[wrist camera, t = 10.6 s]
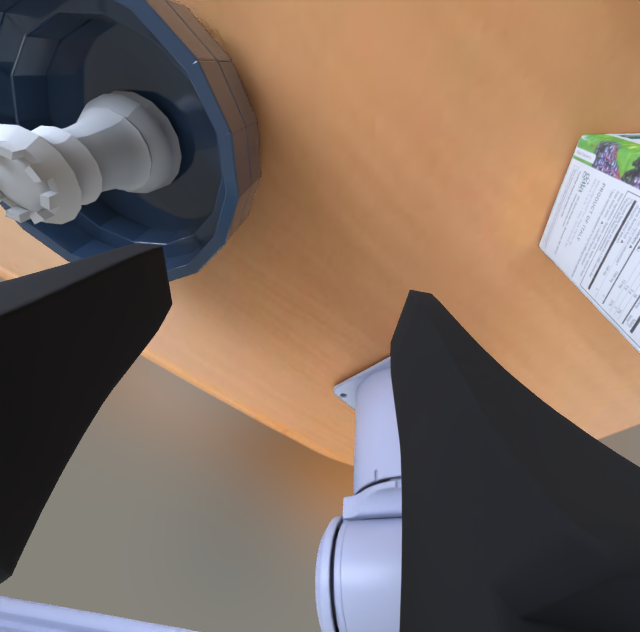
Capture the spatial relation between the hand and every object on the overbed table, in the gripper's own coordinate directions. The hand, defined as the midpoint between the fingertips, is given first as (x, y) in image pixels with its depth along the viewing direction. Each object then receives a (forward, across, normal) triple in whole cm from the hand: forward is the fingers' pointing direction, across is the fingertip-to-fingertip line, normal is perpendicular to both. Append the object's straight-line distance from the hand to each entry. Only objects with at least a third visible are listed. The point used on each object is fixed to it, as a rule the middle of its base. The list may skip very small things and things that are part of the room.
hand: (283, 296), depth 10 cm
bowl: (+10, +9, -1) cm, 14 cm away
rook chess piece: (+10, +9, -1) cm, 14 cm away
